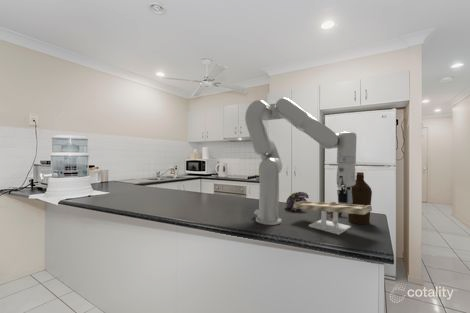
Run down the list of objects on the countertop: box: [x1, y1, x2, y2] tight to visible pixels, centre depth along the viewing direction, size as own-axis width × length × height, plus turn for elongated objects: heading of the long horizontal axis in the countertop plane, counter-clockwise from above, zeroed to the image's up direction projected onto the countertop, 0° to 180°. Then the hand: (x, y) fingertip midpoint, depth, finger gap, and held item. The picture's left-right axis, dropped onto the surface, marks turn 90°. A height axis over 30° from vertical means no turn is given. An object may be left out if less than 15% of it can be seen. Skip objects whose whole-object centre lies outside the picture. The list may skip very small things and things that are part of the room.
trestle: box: [308, 211, 352, 235], centre depth 106 cm, size 14×13×8 cm
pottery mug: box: [329, 201, 343, 218], centre depth 128 cm, size 12×10×8 cm
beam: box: [294, 200, 373, 215], centre depth 106 cm, size 32×11×3 cm, turn 44°
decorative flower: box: [285, 191, 309, 213], centre depth 139 cm, size 14×12×15 cm
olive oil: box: [347, 171, 373, 226], centre depth 116 cm, size 11×11×25 cm
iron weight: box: [336, 189, 353, 204], centre depth 101 cm, size 4×4×6 cm
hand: (344, 201), depth 101 cm, fingers closed on iron weight, 4 cm apart
